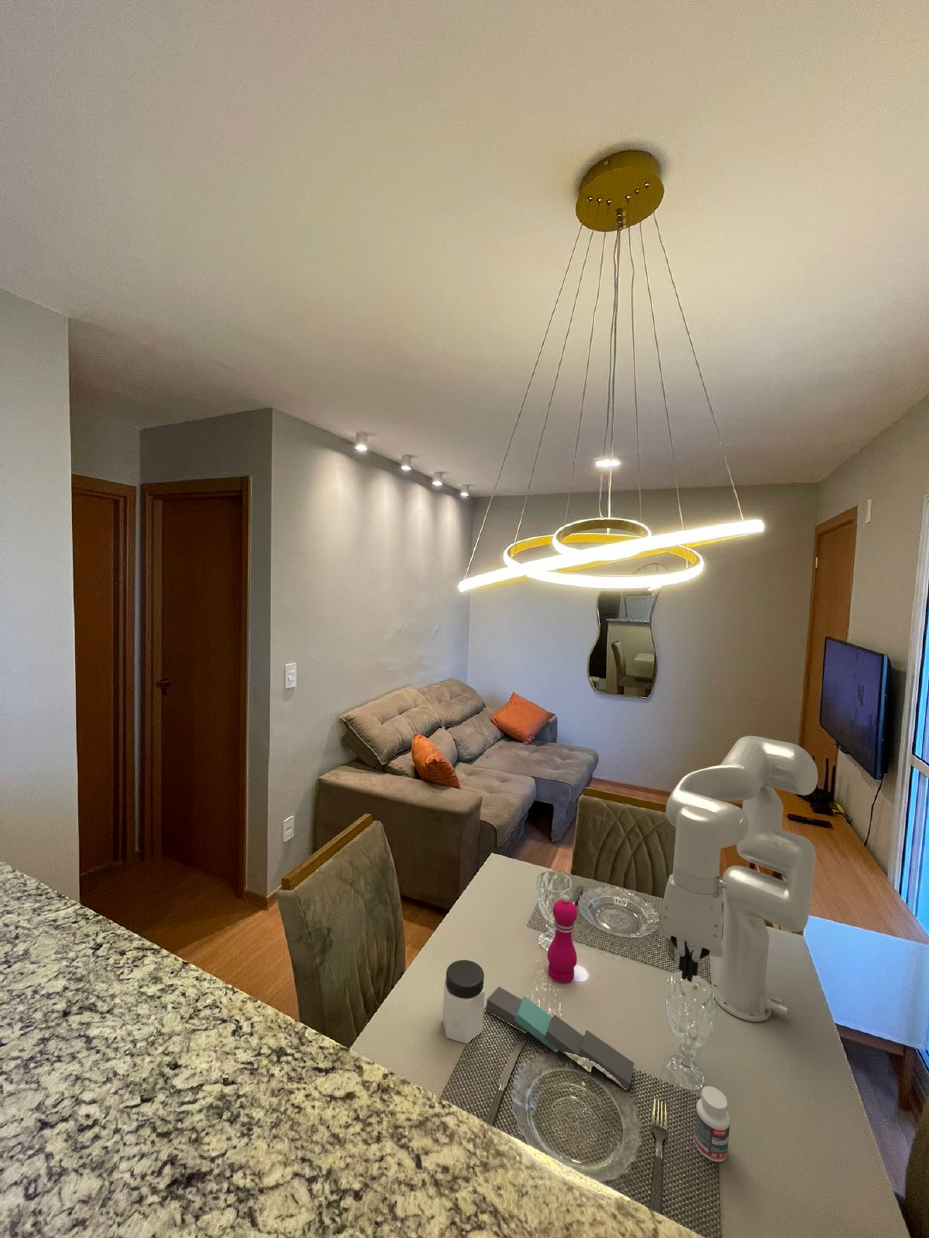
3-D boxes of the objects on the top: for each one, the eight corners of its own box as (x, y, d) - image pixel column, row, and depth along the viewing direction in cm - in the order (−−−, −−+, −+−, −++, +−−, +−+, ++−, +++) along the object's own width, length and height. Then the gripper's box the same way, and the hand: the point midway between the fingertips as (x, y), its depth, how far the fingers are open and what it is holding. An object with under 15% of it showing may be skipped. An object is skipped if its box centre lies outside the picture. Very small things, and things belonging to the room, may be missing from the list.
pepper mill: (575, 987, 124) (581, 906, 123) (545, 981, 125) (550, 901, 125) (575, 966, 131) (580, 889, 130) (546, 961, 132) (551, 885, 132)
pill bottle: (712, 1168, 85) (716, 1116, 85) (686, 1137, 90) (690, 1088, 90) (734, 1155, 87) (738, 1105, 87) (708, 1126, 92) (712, 1078, 92)
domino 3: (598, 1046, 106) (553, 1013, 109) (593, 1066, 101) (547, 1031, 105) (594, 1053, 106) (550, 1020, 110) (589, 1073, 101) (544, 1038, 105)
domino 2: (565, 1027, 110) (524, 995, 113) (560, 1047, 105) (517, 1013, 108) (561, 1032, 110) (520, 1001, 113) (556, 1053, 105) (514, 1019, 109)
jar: (435, 1035, 108) (438, 979, 108) (448, 1006, 116) (451, 954, 115) (476, 1048, 105) (480, 991, 105) (487, 1018, 113) (490, 965, 113)
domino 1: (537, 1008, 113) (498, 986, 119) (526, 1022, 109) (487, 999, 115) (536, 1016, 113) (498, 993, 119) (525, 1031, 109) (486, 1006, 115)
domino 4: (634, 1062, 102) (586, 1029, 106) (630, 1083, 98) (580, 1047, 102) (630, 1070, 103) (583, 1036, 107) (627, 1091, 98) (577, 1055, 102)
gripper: (743, 883, 93) (735, 982, 93) (657, 856, 101) (650, 948, 102) (739, 902, 87) (731, 1008, 87) (647, 872, 95) (640, 969, 95)
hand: (687, 975), depth 94 cm, fingers closed
